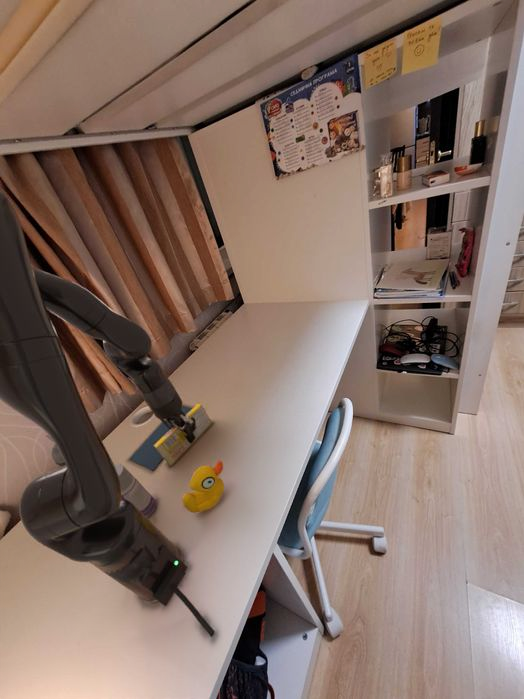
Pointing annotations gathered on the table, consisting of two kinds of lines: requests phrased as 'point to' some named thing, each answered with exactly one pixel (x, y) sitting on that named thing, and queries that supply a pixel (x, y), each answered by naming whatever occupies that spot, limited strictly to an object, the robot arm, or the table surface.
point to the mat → (152, 447)
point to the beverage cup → (56, 454)
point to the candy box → (182, 436)
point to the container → (135, 491)
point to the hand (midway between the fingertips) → (188, 439)
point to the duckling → (204, 488)
